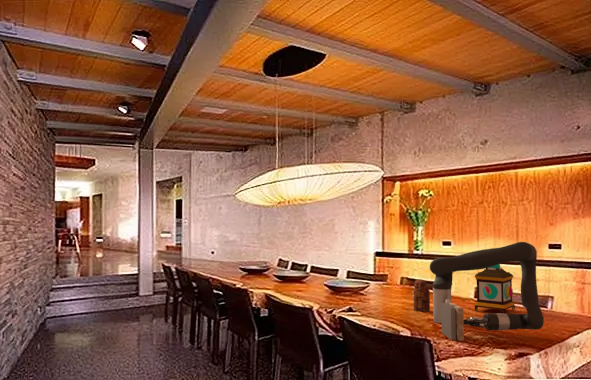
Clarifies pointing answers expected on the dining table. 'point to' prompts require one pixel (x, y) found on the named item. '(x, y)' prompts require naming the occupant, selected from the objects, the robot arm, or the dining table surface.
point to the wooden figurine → (421, 296)
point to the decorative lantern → (494, 289)
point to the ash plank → (458, 321)
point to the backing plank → (448, 320)
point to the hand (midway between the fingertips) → (458, 322)
